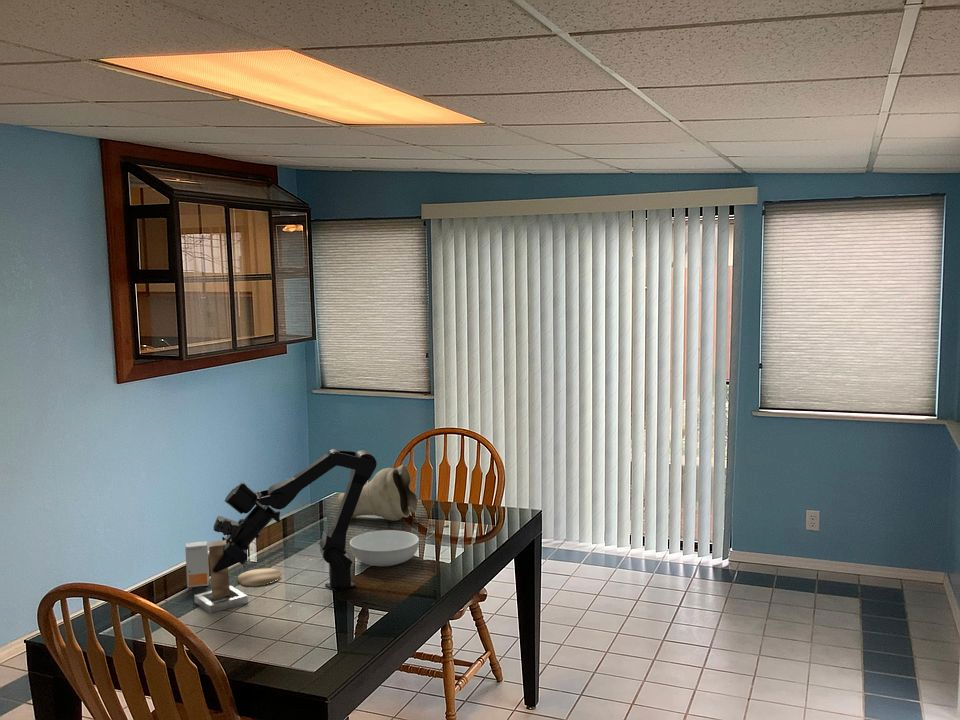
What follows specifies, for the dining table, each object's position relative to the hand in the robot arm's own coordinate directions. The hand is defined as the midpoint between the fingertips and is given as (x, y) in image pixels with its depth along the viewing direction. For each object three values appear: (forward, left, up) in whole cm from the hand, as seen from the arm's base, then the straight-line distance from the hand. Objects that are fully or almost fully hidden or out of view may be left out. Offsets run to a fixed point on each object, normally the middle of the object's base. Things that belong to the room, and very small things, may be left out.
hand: (213, 568), depth 240 cm
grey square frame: (-1, -1, -10) cm, 10 cm away
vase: (+37, -75, -10) cm, 85 cm away
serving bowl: (-4, -52, -10) cm, 53 cm away
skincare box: (+17, -2, -10) cm, 20 cm away
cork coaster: (+9, -17, -10) cm, 22 cm away
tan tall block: (-1, -1, -7) cm, 7 cm away
